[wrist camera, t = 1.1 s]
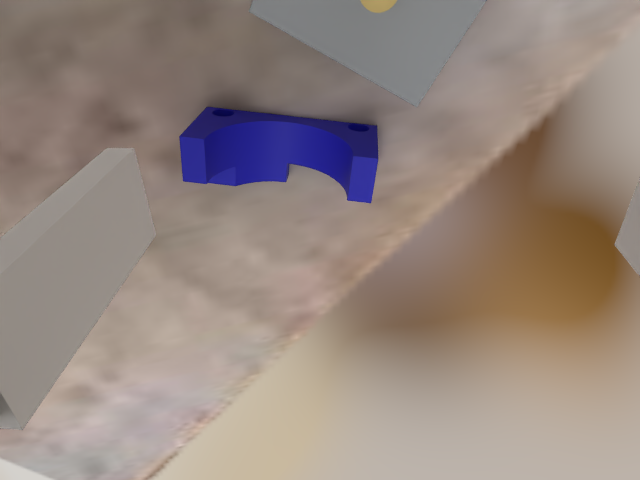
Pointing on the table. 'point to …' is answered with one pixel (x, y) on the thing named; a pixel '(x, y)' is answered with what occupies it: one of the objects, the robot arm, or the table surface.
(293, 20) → the board
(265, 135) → the blue arched piece
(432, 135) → the table surface
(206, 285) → the table surface
